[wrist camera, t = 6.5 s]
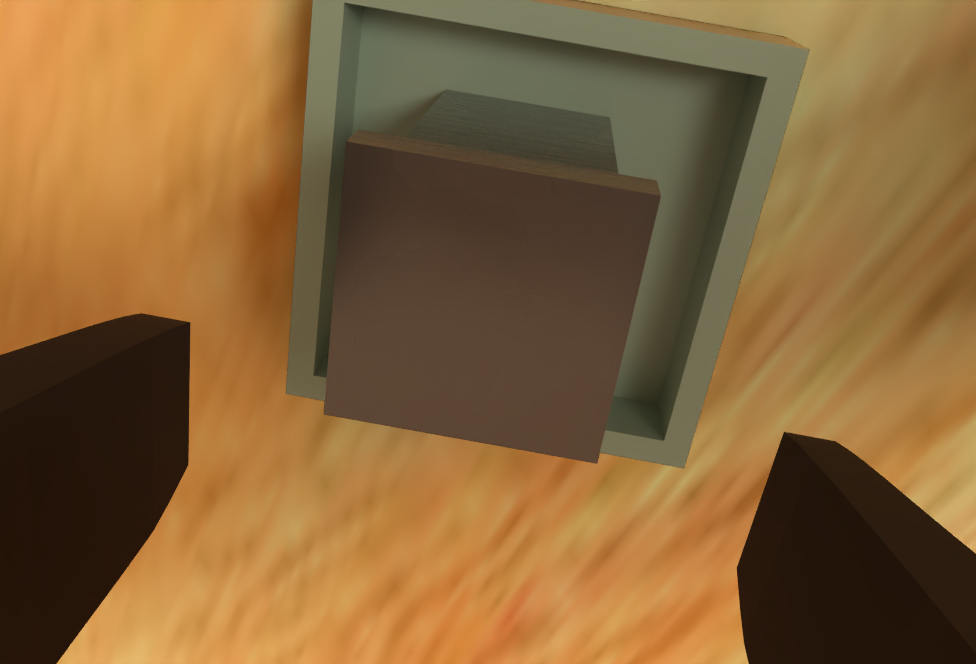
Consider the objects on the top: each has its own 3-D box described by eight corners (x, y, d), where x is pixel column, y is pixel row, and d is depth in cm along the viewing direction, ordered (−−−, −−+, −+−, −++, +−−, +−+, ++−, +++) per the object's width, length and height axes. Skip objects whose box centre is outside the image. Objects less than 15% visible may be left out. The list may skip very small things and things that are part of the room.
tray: (784, 36, 18) (809, 49, 16) (674, 420, 22) (684, 468, 20) (344, -41, 18) (315, -38, 16) (312, 352, 22) (285, 393, 20)
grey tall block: (632, 101, 18) (660, 195, 12) (592, 289, 20) (597, 463, 14) (429, 66, 19) (346, 141, 12) (407, 257, 20) (323, 414, 14)
